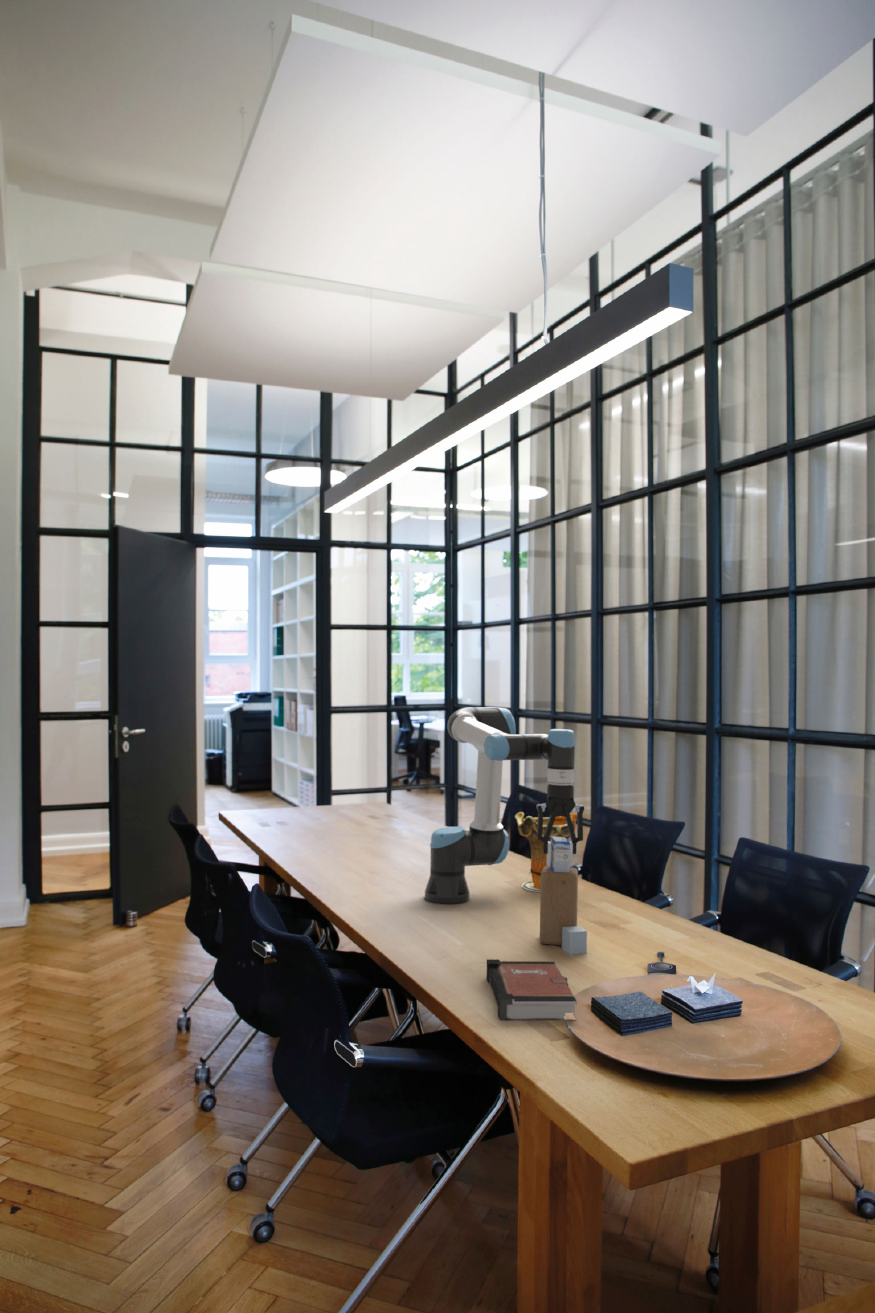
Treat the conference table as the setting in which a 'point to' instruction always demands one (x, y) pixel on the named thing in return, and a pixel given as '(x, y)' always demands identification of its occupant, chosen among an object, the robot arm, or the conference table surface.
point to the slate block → (574, 940)
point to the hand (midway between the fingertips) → (559, 865)
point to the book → (529, 990)
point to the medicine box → (560, 854)
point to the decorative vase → (540, 843)
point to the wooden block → (557, 904)
